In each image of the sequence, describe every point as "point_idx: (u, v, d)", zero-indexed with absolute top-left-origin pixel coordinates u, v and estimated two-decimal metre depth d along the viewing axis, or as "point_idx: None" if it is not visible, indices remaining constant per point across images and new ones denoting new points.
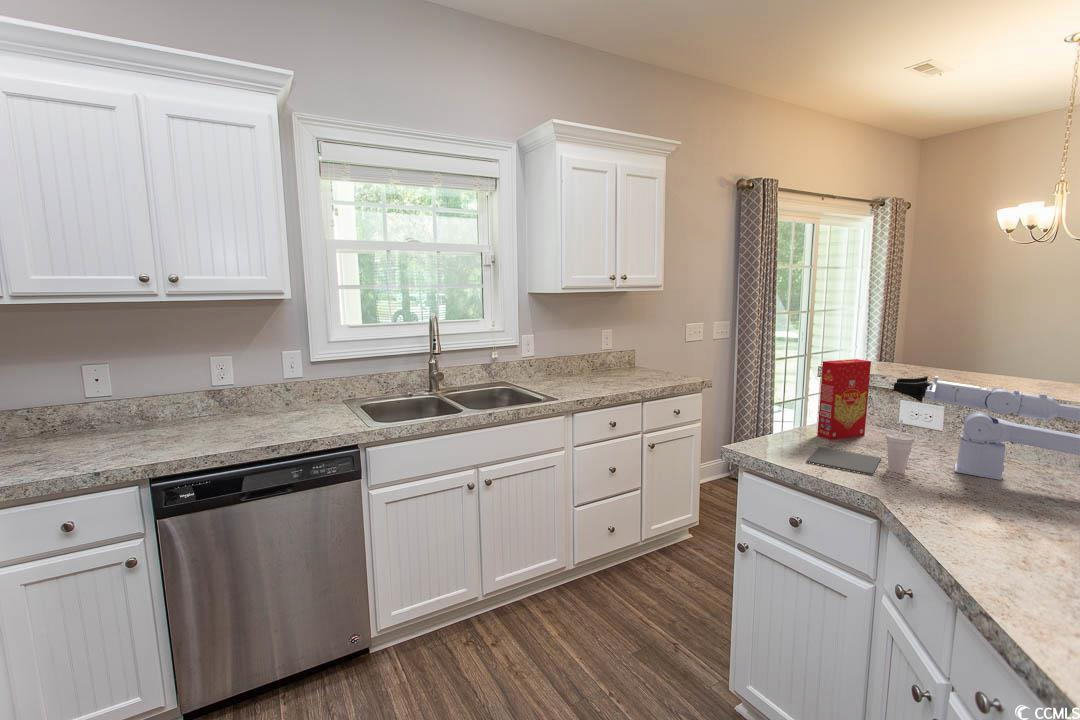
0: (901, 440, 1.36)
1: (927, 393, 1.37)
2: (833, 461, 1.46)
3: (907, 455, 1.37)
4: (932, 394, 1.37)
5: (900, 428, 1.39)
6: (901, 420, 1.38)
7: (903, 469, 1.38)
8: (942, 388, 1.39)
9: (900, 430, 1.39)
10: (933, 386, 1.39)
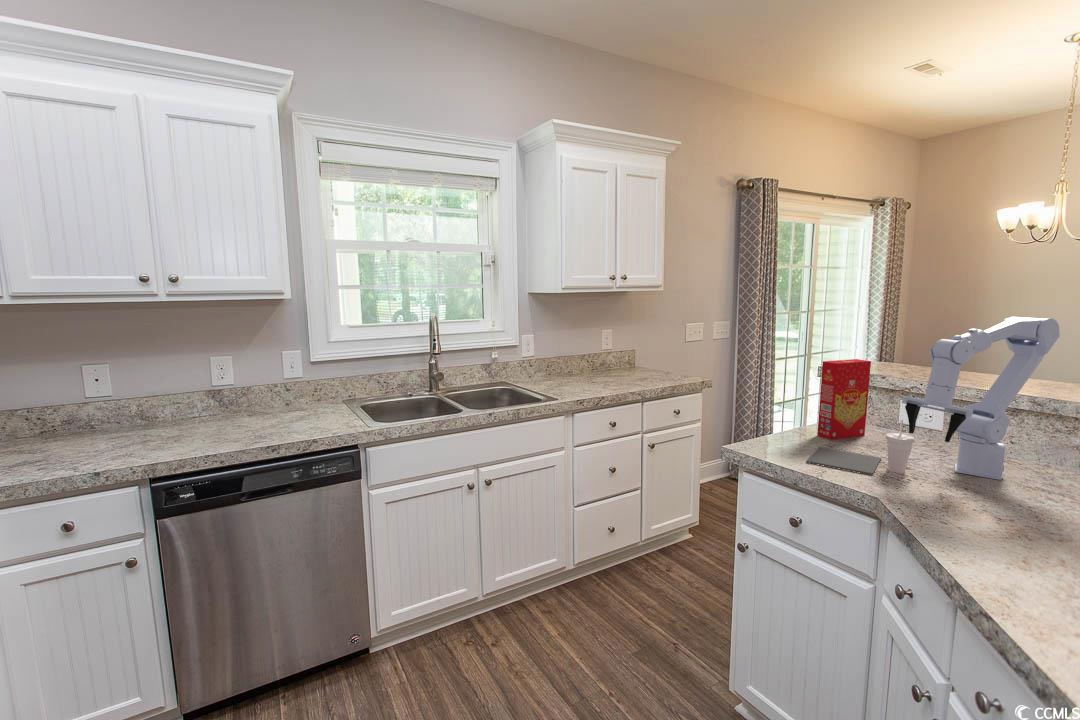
0: (901, 440, 1.36)
1: (971, 415, 1.28)
2: (833, 461, 1.46)
3: (907, 455, 1.37)
4: (972, 411, 1.28)
5: (900, 428, 1.38)
6: (901, 420, 1.38)
7: (903, 469, 1.38)
8: (950, 400, 1.30)
9: (900, 430, 1.38)
10: (955, 408, 1.29)
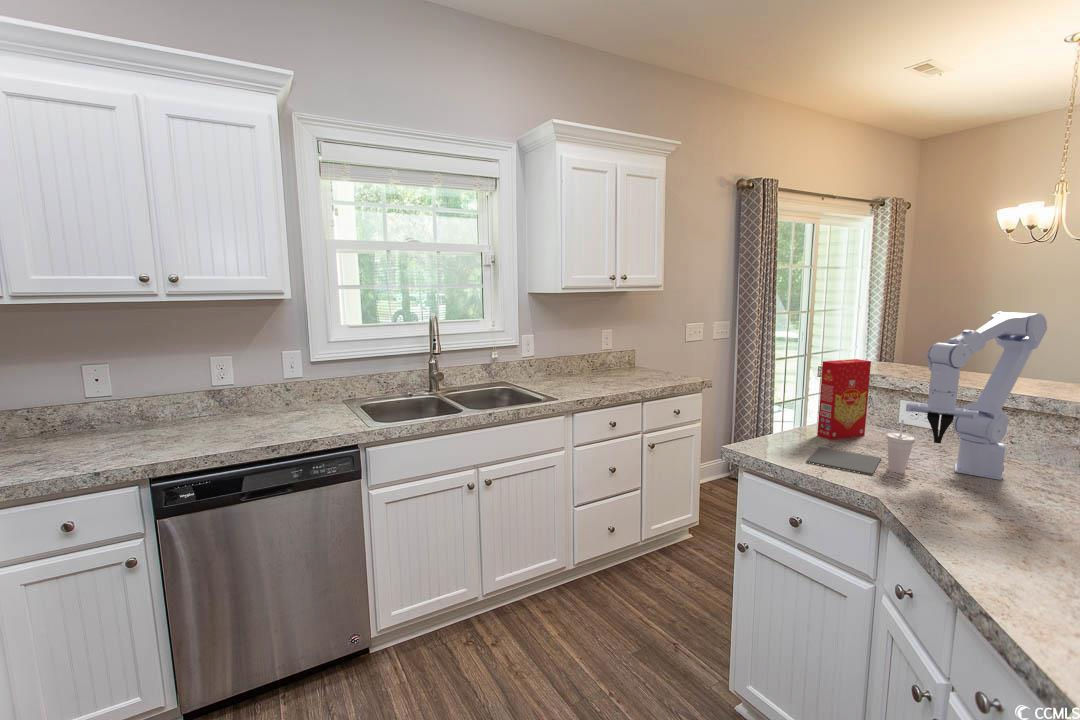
0: (902, 440, 1.36)
1: (977, 417, 1.28)
2: (833, 461, 1.46)
3: (907, 455, 1.37)
4: (978, 413, 1.28)
5: (901, 428, 1.38)
6: (902, 420, 1.38)
7: (903, 469, 1.38)
8: (954, 404, 1.29)
9: (901, 430, 1.38)
10: (961, 413, 1.28)
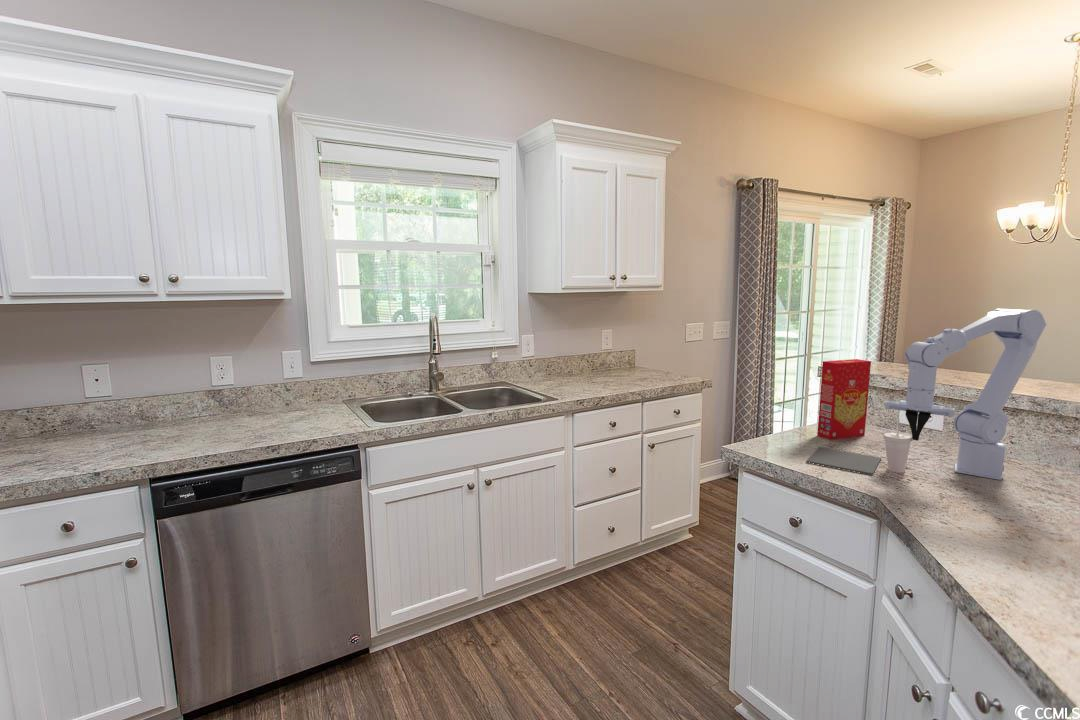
0: (899, 439, 1.36)
1: (953, 415, 1.31)
2: (833, 461, 1.46)
3: (906, 454, 1.37)
4: None
5: (897, 427, 1.39)
6: (898, 419, 1.39)
7: (903, 468, 1.38)
8: (931, 402, 1.32)
9: (897, 429, 1.39)
10: (937, 410, 1.31)
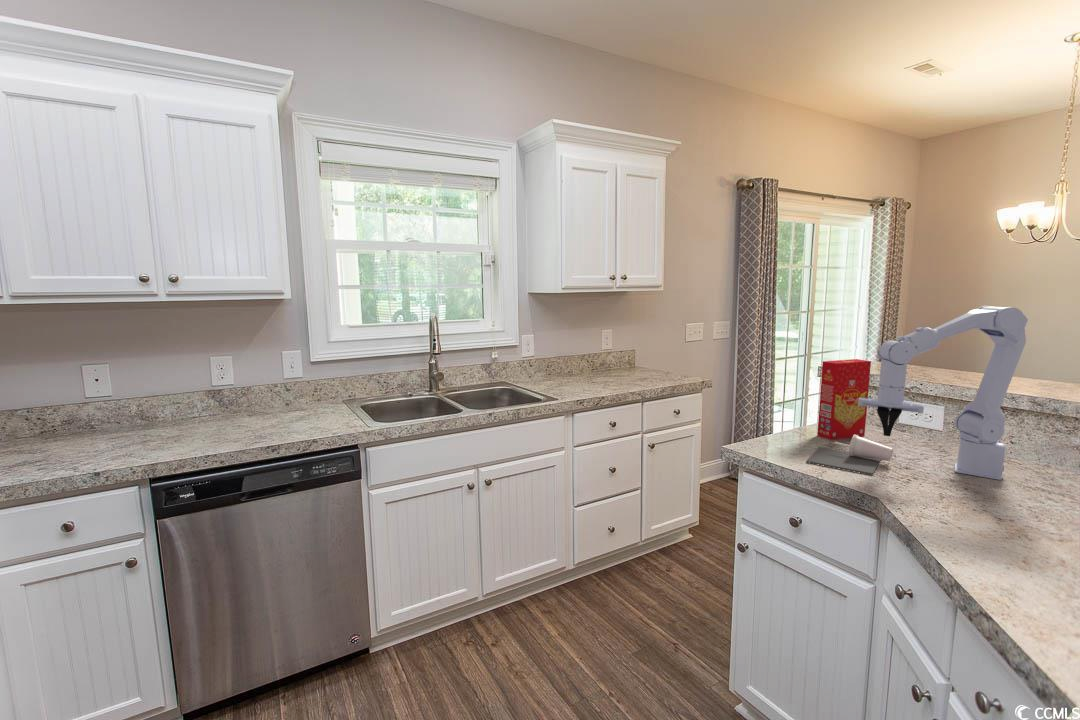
0: None
1: None
2: (833, 461, 1.46)
3: None
4: (923, 407, 1.34)
5: (843, 444, 1.51)
6: None
7: None
8: (901, 399, 1.36)
9: (845, 444, 1.51)
10: (907, 407, 1.35)
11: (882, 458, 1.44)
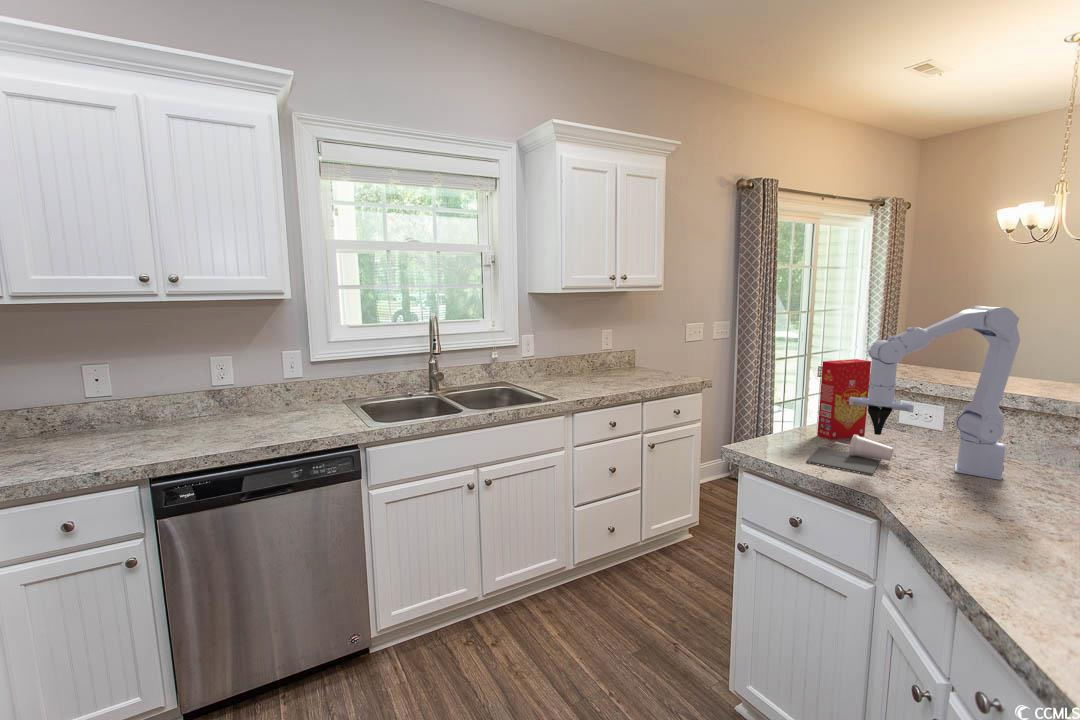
0: (855, 434, 1.50)
1: None
2: (833, 461, 1.46)
3: None
4: (913, 406, 1.36)
5: (843, 444, 1.52)
6: None
7: None
8: (892, 398, 1.38)
9: (846, 444, 1.51)
10: (897, 406, 1.37)
11: (882, 457, 1.44)
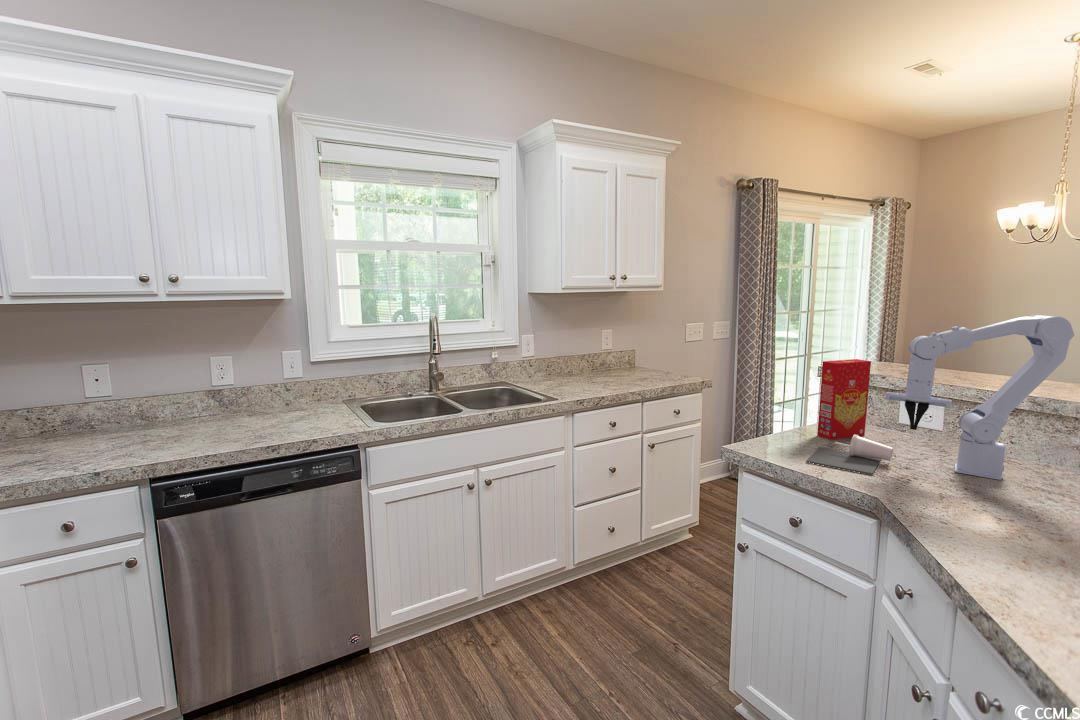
0: None
1: (950, 405, 1.37)
2: (833, 461, 1.46)
3: None
4: None
5: (843, 444, 1.52)
6: None
7: None
8: (930, 393, 1.39)
9: (846, 444, 1.51)
10: (936, 401, 1.38)
11: (882, 457, 1.44)
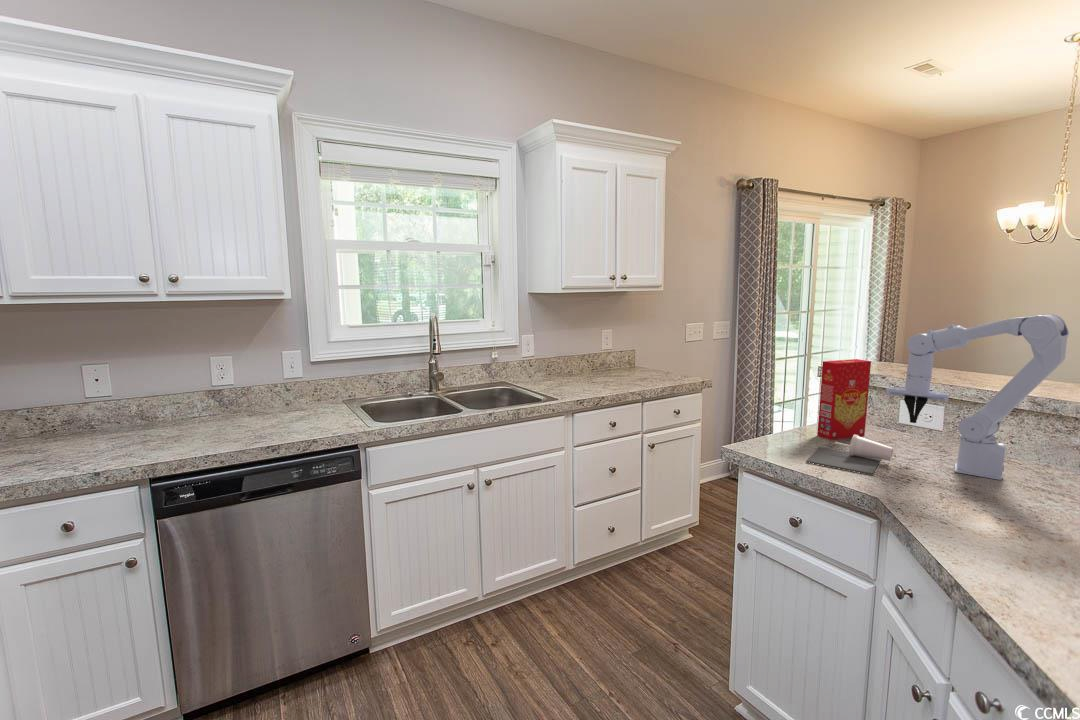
0: None
1: None
2: (833, 461, 1.46)
3: None
4: (948, 395, 1.44)
5: (843, 444, 1.52)
6: None
7: None
8: (928, 388, 1.45)
9: (846, 444, 1.51)
10: (934, 395, 1.44)
11: (882, 457, 1.44)
